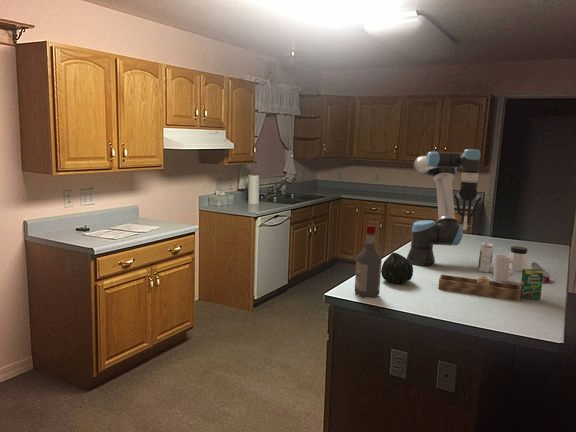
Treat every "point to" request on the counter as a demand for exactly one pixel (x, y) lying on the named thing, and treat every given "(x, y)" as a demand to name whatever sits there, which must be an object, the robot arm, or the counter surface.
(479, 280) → the birch block
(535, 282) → the coffee box
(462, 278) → the box
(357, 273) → the liquor
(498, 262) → the mug
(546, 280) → the canned food
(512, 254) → the jar
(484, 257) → the syrup box
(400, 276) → the squash
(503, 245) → the counter surface
